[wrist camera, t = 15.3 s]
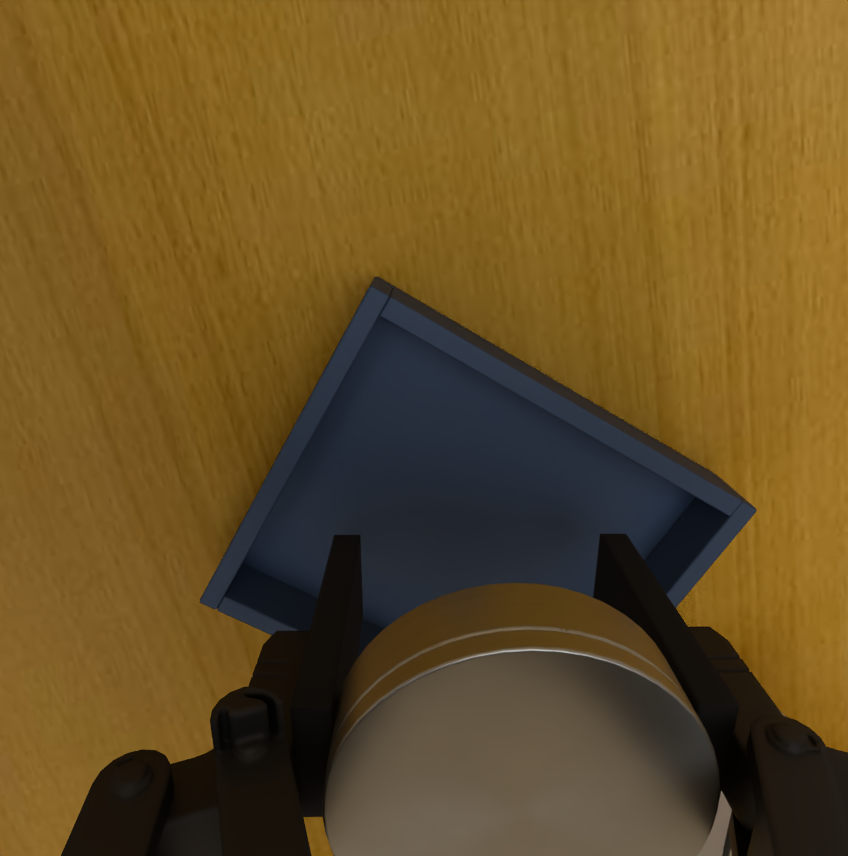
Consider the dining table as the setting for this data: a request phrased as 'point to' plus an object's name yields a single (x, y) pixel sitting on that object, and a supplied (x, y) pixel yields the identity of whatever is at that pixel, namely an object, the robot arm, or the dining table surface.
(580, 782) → the lid
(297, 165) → the dining table surface
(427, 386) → the tray
